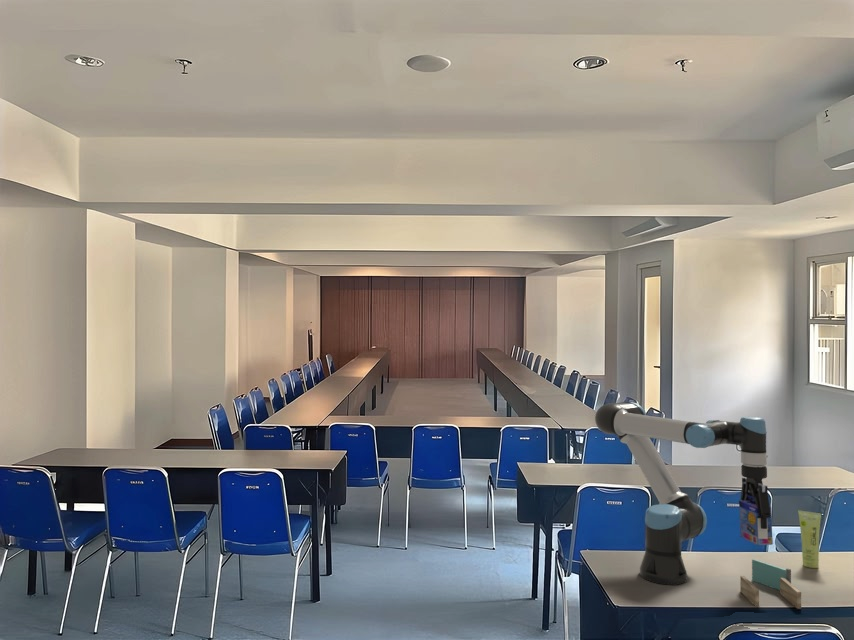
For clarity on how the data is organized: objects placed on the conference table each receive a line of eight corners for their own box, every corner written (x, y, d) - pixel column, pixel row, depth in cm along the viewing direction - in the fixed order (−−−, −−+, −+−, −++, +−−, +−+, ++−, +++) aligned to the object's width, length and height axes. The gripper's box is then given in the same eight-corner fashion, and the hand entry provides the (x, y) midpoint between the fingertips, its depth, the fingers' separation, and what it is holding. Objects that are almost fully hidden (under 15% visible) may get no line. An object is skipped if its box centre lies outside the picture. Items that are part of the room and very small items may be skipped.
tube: (805, 568, 235) (805, 513, 236) (798, 563, 240) (797, 509, 241) (821, 568, 235) (821, 513, 235) (813, 564, 240) (813, 510, 240)
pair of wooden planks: (754, 606, 200) (754, 589, 201) (740, 591, 212) (740, 575, 213) (801, 608, 199) (801, 592, 199) (784, 593, 211) (784, 577, 211)
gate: (792, 593, 211) (792, 569, 212) (789, 593, 211) (789, 570, 211) (754, 579, 223) (754, 557, 223) (751, 580, 222) (751, 558, 223)
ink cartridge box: (738, 536, 219) (737, 492, 219) (754, 536, 219) (753, 492, 220) (757, 545, 209) (756, 499, 210) (773, 545, 210) (772, 499, 210)
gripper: (782, 471, 204) (783, 544, 203) (751, 459, 226) (752, 524, 225) (757, 471, 204) (758, 543, 203) (728, 459, 227) (729, 524, 226)
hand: (755, 533), depth 214 cm, fingers closed on ink cartridge box, 10 cm apart
